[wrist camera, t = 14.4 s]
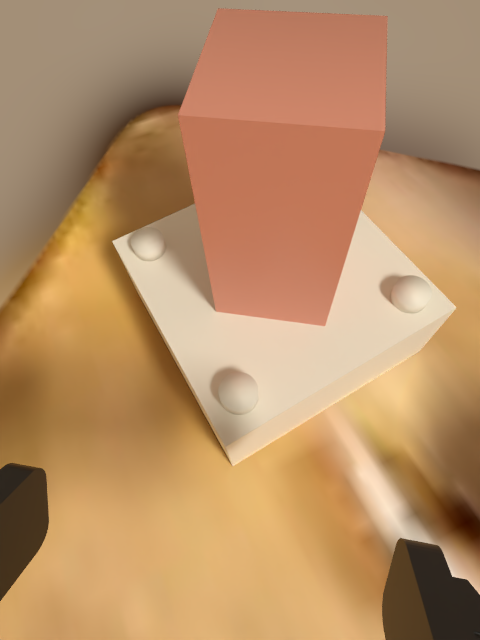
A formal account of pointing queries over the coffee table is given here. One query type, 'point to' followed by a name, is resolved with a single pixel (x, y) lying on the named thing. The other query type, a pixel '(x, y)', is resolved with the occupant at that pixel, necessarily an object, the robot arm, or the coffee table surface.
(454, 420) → the coffee table surface
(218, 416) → the base brick
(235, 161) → the tall block
